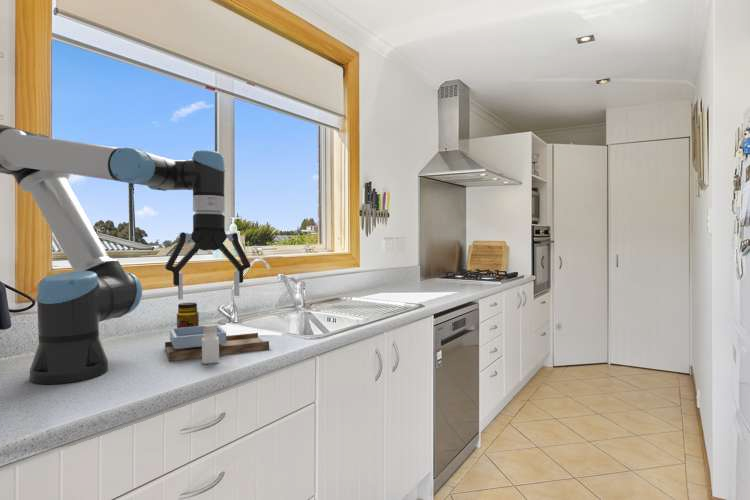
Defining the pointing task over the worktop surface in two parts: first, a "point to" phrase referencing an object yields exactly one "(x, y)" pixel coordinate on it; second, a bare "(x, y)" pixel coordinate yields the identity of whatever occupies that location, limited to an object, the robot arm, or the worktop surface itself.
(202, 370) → the worktop surface
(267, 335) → the worktop surface
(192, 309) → the condiment
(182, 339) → the light blue tray
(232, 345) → the wooden cutting board
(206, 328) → the pepper shaker
